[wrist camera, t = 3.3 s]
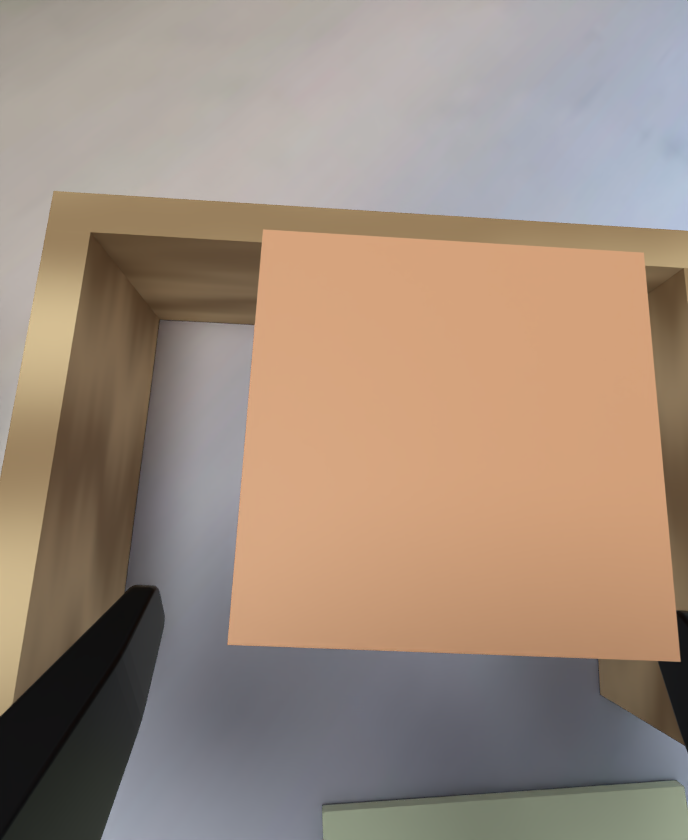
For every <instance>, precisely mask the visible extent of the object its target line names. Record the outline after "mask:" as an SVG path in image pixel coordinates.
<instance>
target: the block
mask: <svg viewBox="0 0 688 840" xmlns="http://www.w3.org/2000/svg"><path fill="white" fill-rule="evenodd" d="M227 645H246V646H272V647H299V648H326V649H352V650H379V651H406V652H432V653H459V654H486V655H512V656H539V657H566V658H592V659H619V660H646V661H672V662H681V660H680V649H679V638H678V627H677V616H676V605H675V593H674V582H673V571H672V560H671V549H670V538H669V527H668V516H667V504H666V493H665V482H664V471H663V460H662V449H661V438H660V426H659V415H658V404H657V393H656V382H655V371H654V360H653V348H652V337H651V326H650V315H649V304H648V293H647V282H646V270H645V259H644V253H641V252H625V251H609V250H592V249H576V248H559V247H543V246H527V245H510V244H494V243H478V242H461V241H445V240H428V239H412V238H396V237H379V236H363V235H347V234H330V233H314V232H297V231H281V230H265V229H263V236H262V247H261V259H260V271H259V282H258V294H257V306H256V317H255V329H254V341H253V352H252V364H251V375H250V387H249V399H248V410H247V422H246V434H245V445H244V457H243V469H242V480H241V492H240V504H239V515H238V527H237V539H236V550H235V562H234V574H233V585H232V597H231V609H230V620H229V632H228V643H227Z"/></svg>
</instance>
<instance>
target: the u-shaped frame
mask: <svg viewBox="0 0 688 840" xmlns="http://www.w3.org/2000/svg"><path fill="white" fill-rule="evenodd" d="M263 229H265V230H281V231H297V232H314V233H330V234H347V235H363V236H379V237H396V238H412V239H428V240H445V241H461V242H478V243H494V244H510V245H527V246H543V247H559V248H576V249H592V250H609V251H625V252H641V253H644V259H645V270H646V282H647V293H648V304H649V315H650V326H651V337H652V348H653V360H654V371H655V382H656V393H657V404H658V415H659V426H660V438H661V449H662V460H663V471H664V482H665V493H666V504H667V516H668V527H669V538H670V549H671V560H672V571H673V582H674V593H675V605H676V610H684V611H688V231H682V230H666V229H650V228H634V227H618V226H602V225H586V224H571V223H555V222H539V221H523V220H507V219H491V218H475V217H459V216H443V215H427V214H411V213H395V212H379V211H363V210H347V209H331V208H315V207H299V206H283V205H267V204H251V203H235V202H219V201H203V200H187V199H171V198H155V197H139V196H123V195H107V194H92V193H76V192H60V191H54V192H53V197H52V203H51V208H50V213H49V219H48V224H47V229H46V235H45V240H44V246H43V251H42V256H41V262H40V267H39V272H38V278H37V283H36V289H35V294H34V299H33V305H32V310H31V316H30V321H29V326H28V332H27V337H26V342H25V348H24V353H23V359H22V364H21V369H20V375H19V380H18V385H17V391H16V396H15V402H14V407H13V412H12V418H11V423H10V428H9V434H8V439H7V445H6V450H5V455H4V461H3V466H2V471H1V477H0V716H1V715H2V714H3V713H4V712H5V711H6V710H7V709H8V708H9V707H10V706H11V705H12V704H13V703H14V702H15V701H16V700H17V699H18V698H19V697H20V696H21V695H22V694H23V693H24V692H25V691H26V690H27V689H28V688H29V687H30V686H31V685H32V684H33V683H34V682H35V681H36V680H37V679H38V678H39V677H40V676H41V675H42V674H43V673H44V672H45V671H46V670H47V669H48V668H49V667H50V666H52V665H53V664H54V663H55V662H56V661H57V660H58V659H59V658H60V657H61V656H62V655H63V654H64V653H65V652H66V651H67V650H68V649H69V648H70V647H71V646H72V645H73V644H74V643H75V642H76V641H77V640H78V639H79V638H80V637H81V636H82V635H83V634H84V633H85V632H86V631H87V630H88V629H89V628H90V627H91V626H92V625H93V624H94V623H95V622H96V621H97V620H98V619H99V618H100V617H101V616H102V615H103V614H104V613H105V612H106V611H107V610H108V609H109V608H110V607H111V606H112V605H113V604H114V603H115V602H116V601H117V600H118V599H119V598H120V597H121V596H122V595H123V594H124V592H125V584H126V577H127V569H128V561H129V553H130V546H131V538H132V530H133V522H134V514H135V507H136V499H137V491H138V483H139V475H140V468H141V460H142V452H143V444H144V436H145V429H146V421H147V413H148V405H149V397H150V390H151V382H152V374H153V366H154V358H155V351H156V343H157V335H158V327H159V320H160V319H163V320H181V321H199V322H217V323H235V324H252V325H255V317H256V306H257V294H258V282H259V271H260V259H261V247H262V236H263ZM598 662H599V679H600V695H602V696H604V697H605V698H607V699H608V700H610V701H612V702H613V703H615V704H617V705H618V706H620V707H622V708H623V709H625V710H627V711H628V712H630V713H632V714H633V715H635V716H637V717H638V718H640V719H641V720H643V721H645V722H646V723H648V724H650V725H651V726H653V727H655V728H656V729H658V730H660V731H661V732H663V733H665V734H666V735H668V736H670V737H671V738H673V739H674V740H676V741H678V742H679V743H681V744H683V745H684V746H685V744H684V742H683V739H682V736H681V733H680V730H679V727H678V724H677V721H676V718H675V715H674V712H673V709H672V705H671V702H670V699H669V696H668V693H667V690H666V686H665V683H664V680H663V677H662V674H661V671H660V667H659V664H658V661H646V660H619V659H598Z"/></svg>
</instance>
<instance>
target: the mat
mask: <svg viewBox="0 0 688 840" xmlns="http://www.w3.org/2000/svg"><path fill="white" fill-rule="evenodd" d="M322 820H323V840H688V808H687V802H686V796H685V790H684V786H683V785H682V784H680V783H679V782H677V781H676V780H673V781H659V782H644V783H630V784H616V785H602V786H588V787H574V788H560V789H546V790H531V791H517V792H503V793H489V794H475V795H461V796H447V797H432V798H418V799H404V800H390V801H376V802H362V803H348V804H333V805H322Z"/></svg>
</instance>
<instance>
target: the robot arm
mask: <svg viewBox="0 0 688 840" xmlns="http://www.w3.org/2000/svg"><path fill="white" fill-rule="evenodd" d="M676 616H677V627H678V638H679V649H680V660H681V662H672V661H658V664H659V667H660V671H661V674H662V677H663V680H664V683H665V686H666V690H667V693H668V696H669V699H670V702H671V705H672V709H673V712H674V715H675V718H676V721H677V724H678V727H679V730H680V733H681V736H682V739H683V742H684V744H685V747H686V749H687V752H688V611H684V610H676ZM164 622H165V615H164V610H163V605H162V601H161V596H160V592H159V589H158V588H157V587H156V586H153V585H134V586H132V587H130V588H129V589H128V590H127V591H126V592H125V593H124V594H123V595H122V596H121V597H120V598H119V599H118V600H117V601H116V602H115V603H114V604H113V605H112V606H111V607H110V608H109V609H108V610H107V611H106V612H105V613H104V614H103V615H102V616H101V617H100V618H99V619H98V620H97V621H96V622H95V623H94V624H93V625H92V626H91V627H90V628H89V629H88V630H87V631H86V632H85V633H84V634H83V635H82V636H81V637H80V638H79V639H78V640H77V641H76V642H75V643H74V644H73V645H72V646H71V647H70V648H69V649H68V650H67V651H66V652H65V653H64V654H63V655H62V656H61V657H60V658H59V659H58V660H57V661H56V662H55V663H54V664H53V665H52V666H50V667H49V668H48V669H47V670H46V671H45V672H44V673H43V674H42V675H41V676H40V677H39V678H38V679H37V680H36V681H35V682H34V683H33V684H32V685H31V686H30V687H29V688H28V689H27V690H26V691H25V692H24V693H23V694H22V695H21V696H20V697H19V698H18V699H17V700H16V701H15V702H14V703H13V704H12V705H11V706H10V707H9V708H8V709H7V710H6V711H5V712H4V713H3V714H2V715H1V716H0V840H101V837H102V834H103V832H104V829H105V826H106V823H107V820H108V817H109V814H110V811H111V808H112V806H113V803H114V800H115V797H116V794H117V791H118V788H119V785H120V783H121V780H122V777H123V774H124V771H125V768H126V765H127V762H128V760H129V757H130V754H131V751H132V748H133V745H134V742H135V739H136V736H137V733H138V730H139V727H140V724H141V721H142V717H143V713H144V710H145V706H146V701H147V697H148V693H149V689H150V684H151V680H152V676H153V672H154V667H155V663H156V659H157V655H158V650H159V646H160V642H161V638H162V633H163V629H164Z"/></svg>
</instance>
